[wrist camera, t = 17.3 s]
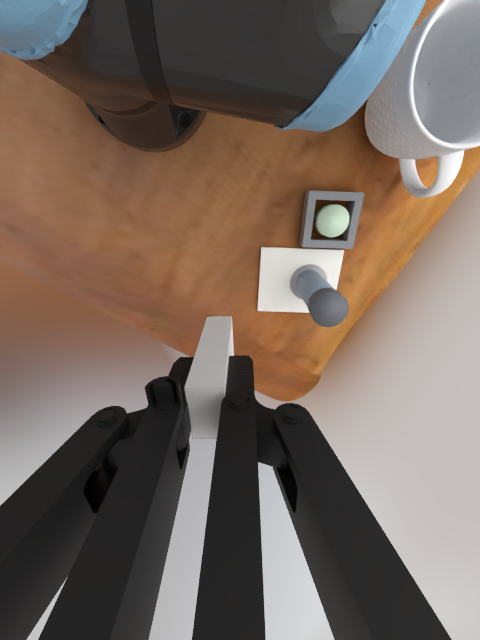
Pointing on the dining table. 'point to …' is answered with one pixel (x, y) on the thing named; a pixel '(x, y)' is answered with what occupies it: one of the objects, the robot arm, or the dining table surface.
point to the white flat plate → (293, 275)
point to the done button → (331, 220)
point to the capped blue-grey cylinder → (321, 299)
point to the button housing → (308, 214)
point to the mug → (431, 96)
